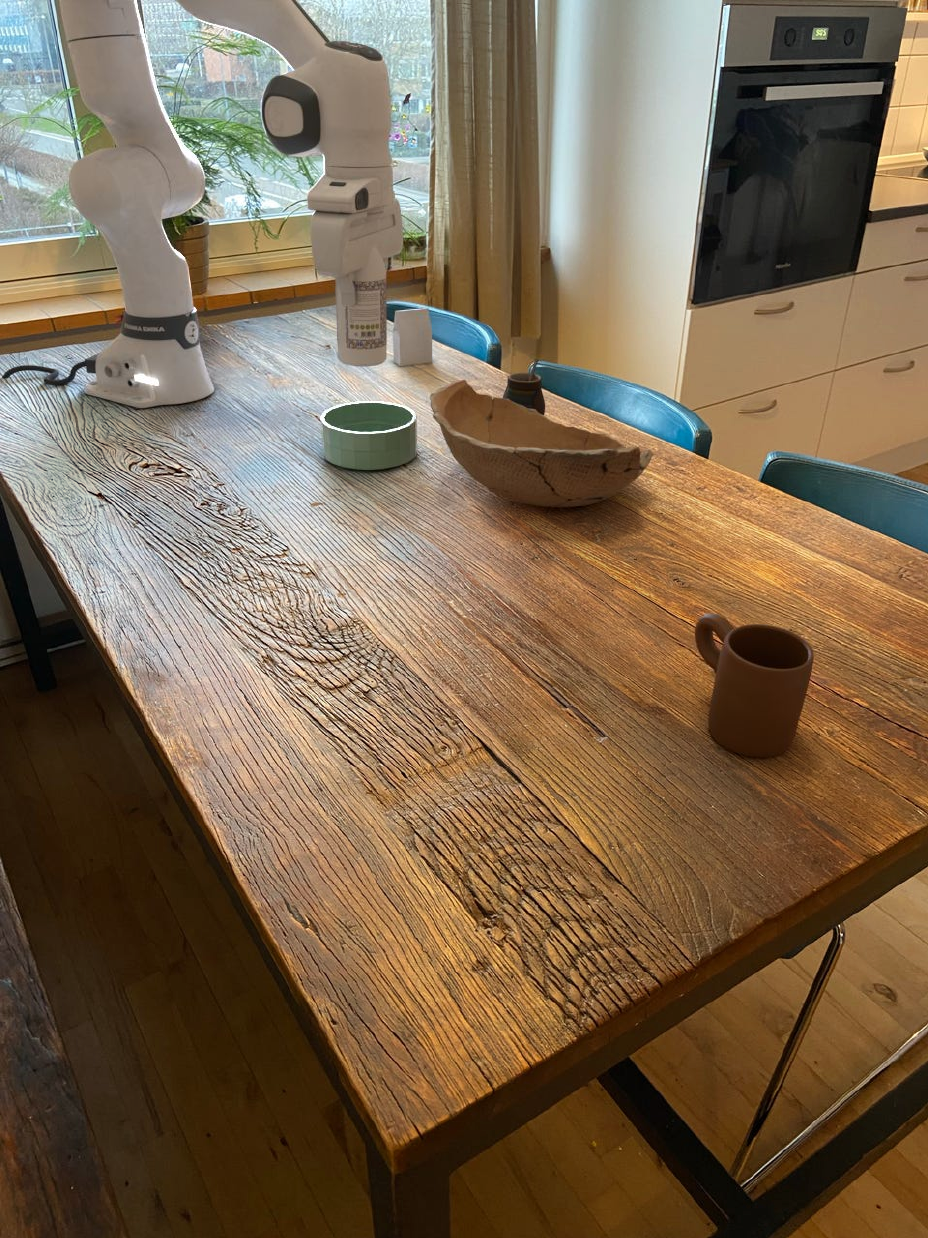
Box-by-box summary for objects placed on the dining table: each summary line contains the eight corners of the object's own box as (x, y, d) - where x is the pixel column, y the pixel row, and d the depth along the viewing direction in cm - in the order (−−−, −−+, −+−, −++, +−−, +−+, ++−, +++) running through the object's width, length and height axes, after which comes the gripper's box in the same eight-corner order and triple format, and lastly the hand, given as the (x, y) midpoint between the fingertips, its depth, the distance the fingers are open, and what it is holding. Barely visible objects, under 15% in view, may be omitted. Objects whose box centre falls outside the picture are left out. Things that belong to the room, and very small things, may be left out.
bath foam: (396, 362, 130) (396, 211, 120) (355, 370, 126) (352, 214, 116) (368, 351, 135) (366, 203, 124) (328, 358, 131) (323, 206, 120)
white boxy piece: (432, 362, 180) (432, 310, 175) (400, 366, 178) (399, 313, 172) (424, 357, 183) (424, 306, 178) (393, 361, 180) (392, 308, 175)
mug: (656, 698, 86) (670, 612, 81) (716, 675, 90) (733, 592, 85) (748, 772, 78) (769, 681, 73) (811, 744, 81) (836, 656, 76)
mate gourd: (493, 428, 148) (495, 367, 143) (509, 414, 154) (511, 355, 149) (535, 435, 146) (539, 373, 141) (549, 420, 152) (553, 360, 147)
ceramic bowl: (671, 461, 133) (678, 364, 123) (614, 569, 114) (617, 465, 105) (483, 433, 144) (475, 342, 134) (403, 527, 125) (388, 430, 116)
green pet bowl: (306, 464, 134) (303, 425, 131) (349, 433, 145) (348, 396, 142) (393, 478, 130) (392, 438, 127) (430, 446, 141) (430, 408, 138)
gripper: (372, 179, 128) (375, 282, 135) (299, 196, 112) (307, 312, 119) (413, 182, 126) (414, 286, 133) (345, 199, 110) (350, 317, 117)
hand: (363, 299), depth 126 cm, fingers closed on bath foam, 7 cm apart
